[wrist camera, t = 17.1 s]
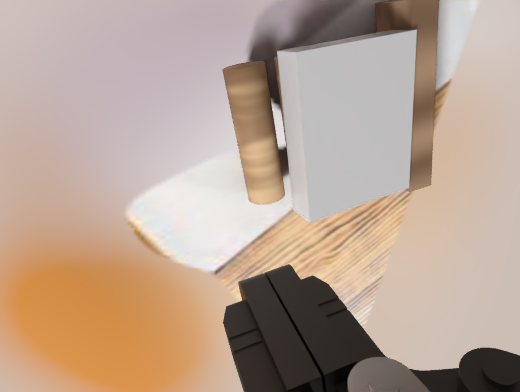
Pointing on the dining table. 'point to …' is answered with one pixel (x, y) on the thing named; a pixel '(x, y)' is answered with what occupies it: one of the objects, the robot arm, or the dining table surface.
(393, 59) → the slab
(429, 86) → the rail
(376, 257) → the dining table surface
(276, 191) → the roller
